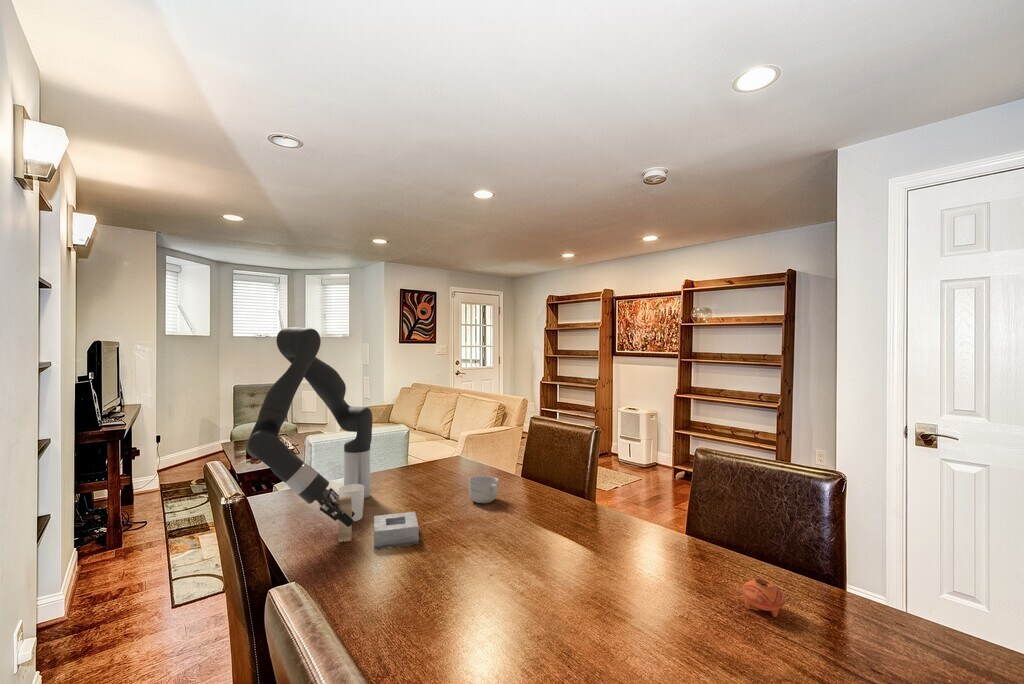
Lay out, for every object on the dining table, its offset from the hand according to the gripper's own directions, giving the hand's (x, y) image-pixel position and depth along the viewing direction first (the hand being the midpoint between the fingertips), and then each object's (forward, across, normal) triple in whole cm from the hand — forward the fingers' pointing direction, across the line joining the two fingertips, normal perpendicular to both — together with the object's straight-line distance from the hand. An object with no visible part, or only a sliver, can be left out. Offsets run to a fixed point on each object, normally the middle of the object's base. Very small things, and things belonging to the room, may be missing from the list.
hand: (351, 520), depth 131 cm
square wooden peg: (+2, 0, +5) cm, 6 cm away
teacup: (+35, +18, -27) cm, 48 cm away
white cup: (+3, +16, +4) cm, 17 cm away
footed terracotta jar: (+63, -64, -56) cm, 106 cm away
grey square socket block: (+12, -4, -5) cm, 14 cm away
